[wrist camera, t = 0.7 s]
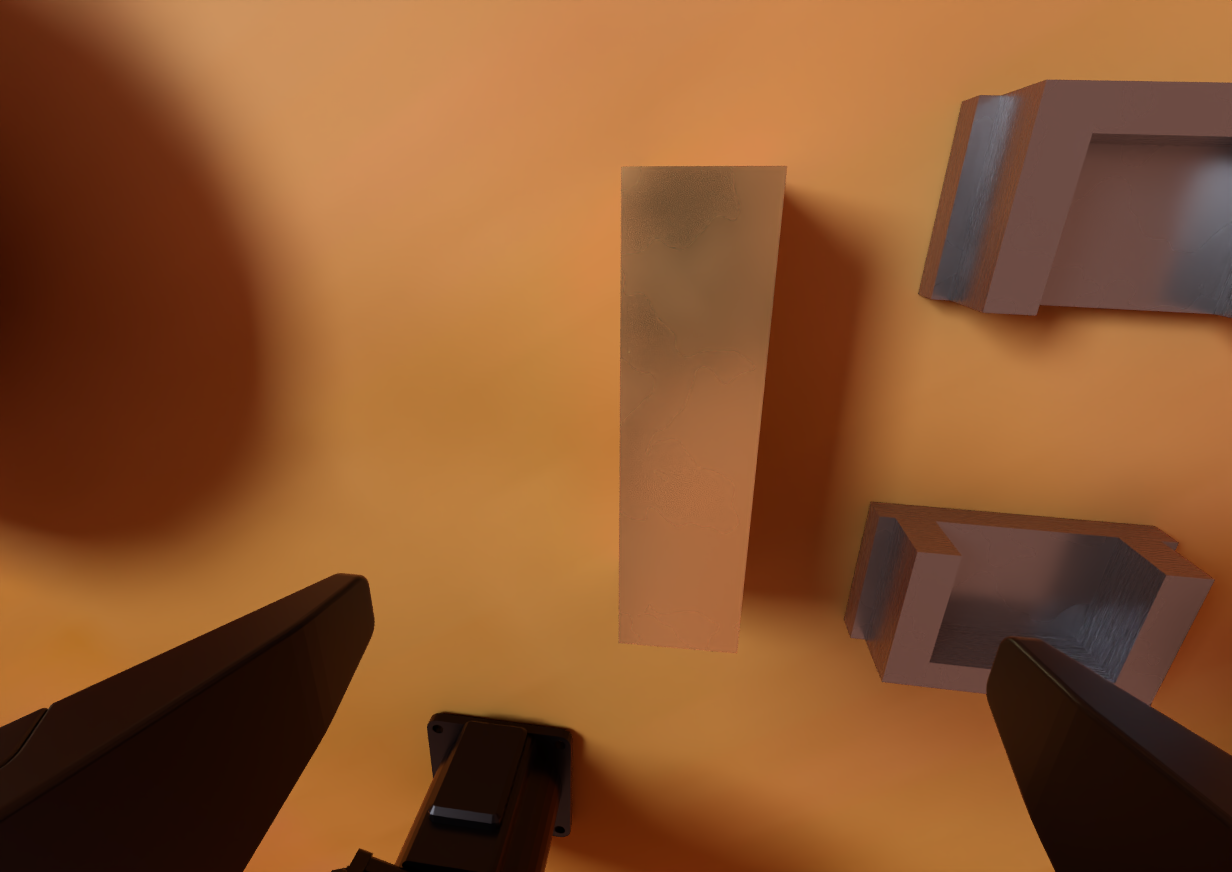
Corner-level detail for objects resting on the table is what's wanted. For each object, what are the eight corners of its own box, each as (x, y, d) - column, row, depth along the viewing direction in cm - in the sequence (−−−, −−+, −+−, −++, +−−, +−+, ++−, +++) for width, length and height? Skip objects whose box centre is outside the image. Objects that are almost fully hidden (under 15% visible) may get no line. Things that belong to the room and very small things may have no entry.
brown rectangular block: (727, 557, 22) (736, 653, 17) (633, 550, 22) (618, 642, 17) (761, 176, 17) (786, 165, 12) (640, 176, 17) (621, 166, 13)
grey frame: (1101, 646, 21) (1164, 714, 18) (843, 619, 22) (866, 679, 19) (1341, 109, 14) (1495, 86, 12) (962, 101, 15) (1021, 79, 13)
